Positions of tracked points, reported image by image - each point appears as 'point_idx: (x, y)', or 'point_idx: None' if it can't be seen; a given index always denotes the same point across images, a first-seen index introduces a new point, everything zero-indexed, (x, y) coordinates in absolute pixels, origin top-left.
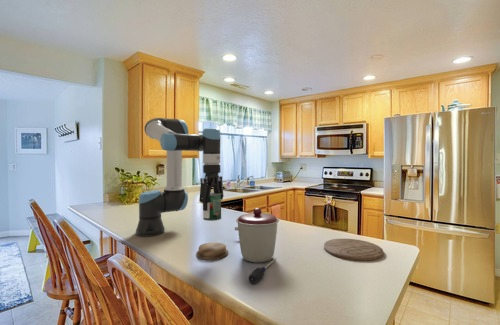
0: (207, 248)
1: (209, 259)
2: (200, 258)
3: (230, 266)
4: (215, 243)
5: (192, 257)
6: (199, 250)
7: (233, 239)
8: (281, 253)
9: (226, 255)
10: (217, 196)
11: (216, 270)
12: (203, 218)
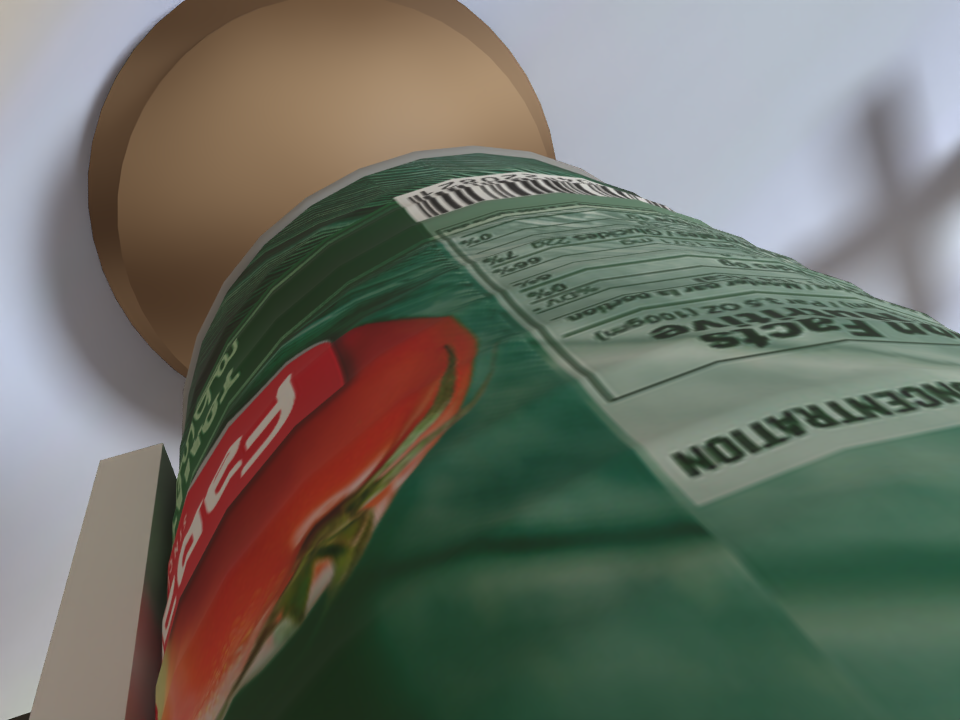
0: (250, 222)
1: (158, 348)
2: (92, 220)
3: None
4: (495, 142)
5: (28, 83)
6: (126, 153)
7: (937, 11)
8: None
9: None
10: None
11: (17, 627)
12: (221, 303)
